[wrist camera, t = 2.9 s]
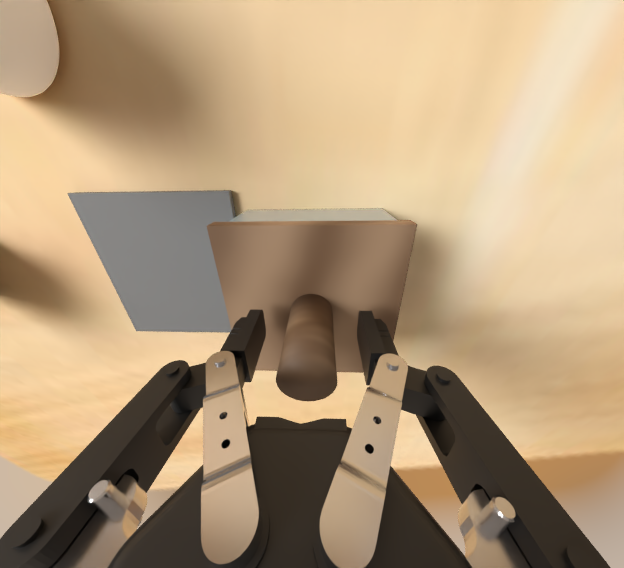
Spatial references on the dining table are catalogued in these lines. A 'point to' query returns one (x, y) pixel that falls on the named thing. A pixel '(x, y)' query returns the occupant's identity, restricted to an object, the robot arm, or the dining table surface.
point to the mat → (160, 254)
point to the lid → (312, 290)
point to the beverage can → (27, 47)
